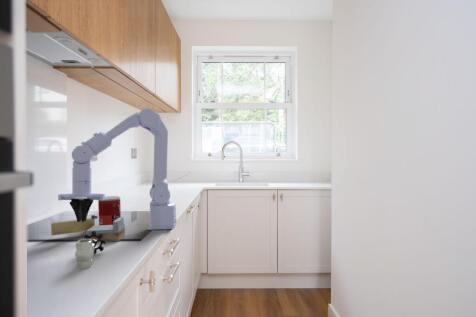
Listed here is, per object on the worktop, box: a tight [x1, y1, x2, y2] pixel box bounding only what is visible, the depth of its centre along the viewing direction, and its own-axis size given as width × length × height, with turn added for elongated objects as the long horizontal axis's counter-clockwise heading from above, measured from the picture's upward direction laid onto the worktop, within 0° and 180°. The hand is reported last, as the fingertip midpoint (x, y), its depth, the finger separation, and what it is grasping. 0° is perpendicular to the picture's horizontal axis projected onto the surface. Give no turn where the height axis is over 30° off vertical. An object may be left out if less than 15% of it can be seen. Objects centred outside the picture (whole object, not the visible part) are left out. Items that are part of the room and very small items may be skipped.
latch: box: [50, 214, 99, 237], centre depth 104 cm, size 2×14×5 cm, turn 118°
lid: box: [85, 216, 126, 235], centre depth 101 cm, size 10×7×4 cm, turn 95°
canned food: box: [97, 195, 122, 225], centre depth 118 cm, size 8×8×11 cm
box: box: [88, 227, 126, 243], centre depth 101 cm, size 10×7×3 cm
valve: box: [74, 231, 108, 270], centre depth 81 cm, size 7×7×12 cm
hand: (81, 221), depth 104 cm, fingers closed, pressing on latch
